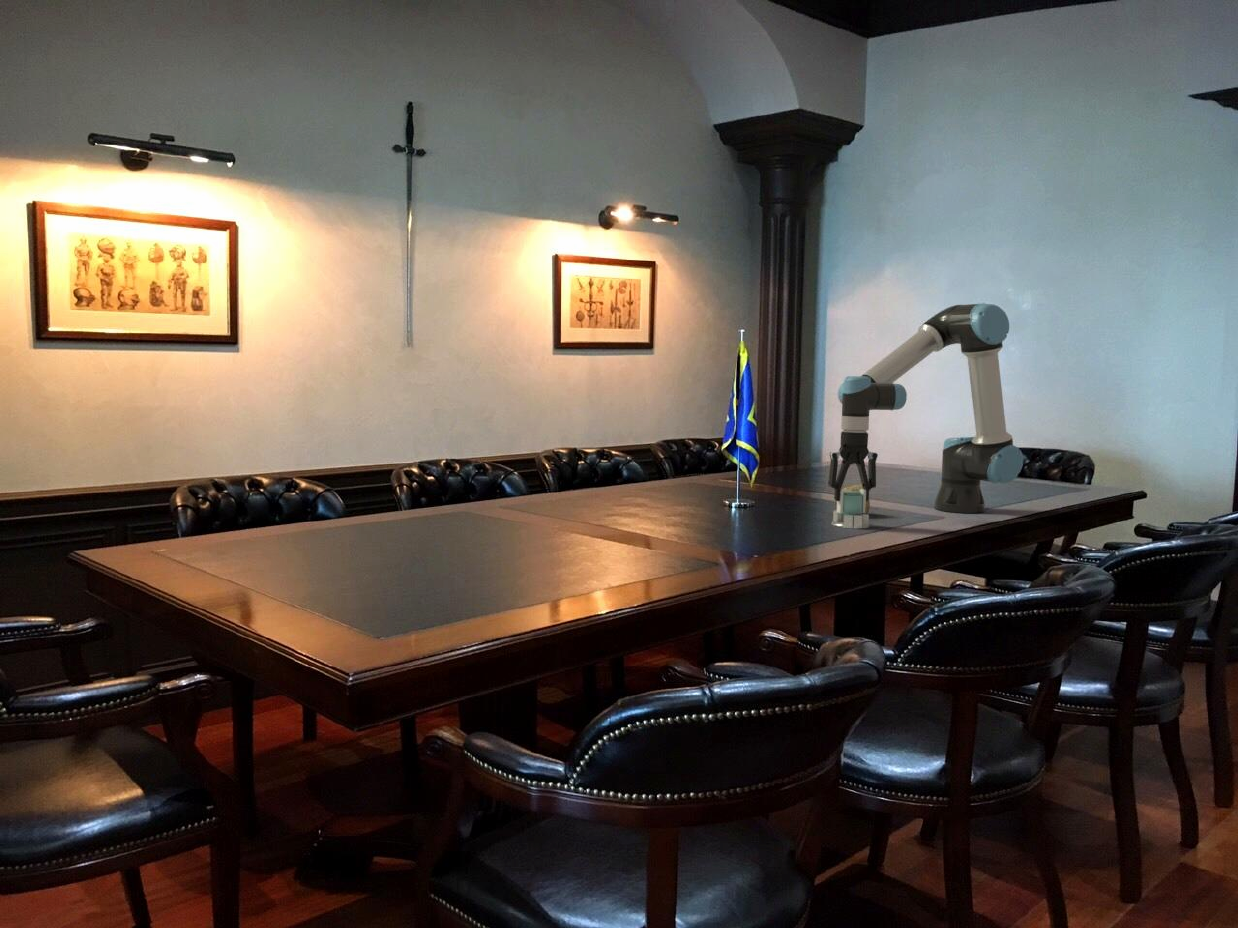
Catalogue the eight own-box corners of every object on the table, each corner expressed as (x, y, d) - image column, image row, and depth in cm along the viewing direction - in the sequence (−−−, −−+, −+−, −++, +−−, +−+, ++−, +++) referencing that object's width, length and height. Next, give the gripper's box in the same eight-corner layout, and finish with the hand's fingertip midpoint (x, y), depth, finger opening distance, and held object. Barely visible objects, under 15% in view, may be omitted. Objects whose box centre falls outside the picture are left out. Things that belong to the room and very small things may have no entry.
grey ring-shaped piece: (860, 521, 300) (861, 509, 300) (875, 528, 290) (876, 515, 289) (826, 522, 298) (826, 509, 298) (839, 528, 288) (840, 515, 288)
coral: (882, 494, 308) (854, 481, 306) (867, 525, 309) (839, 512, 307) (870, 487, 318) (842, 475, 315) (855, 517, 319) (827, 504, 316)
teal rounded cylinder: (856, 511, 297) (857, 490, 296) (865, 514, 291) (865, 493, 290) (837, 511, 296) (837, 491, 295) (845, 515, 290) (845, 493, 289)
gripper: (880, 430, 296) (876, 510, 299) (817, 429, 293) (814, 510, 296) (892, 432, 289) (887, 514, 291) (827, 432, 286) (823, 514, 288)
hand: (850, 512), depth 293 cm, fingers closed on teal rounded cylinder, 6 cm apart
